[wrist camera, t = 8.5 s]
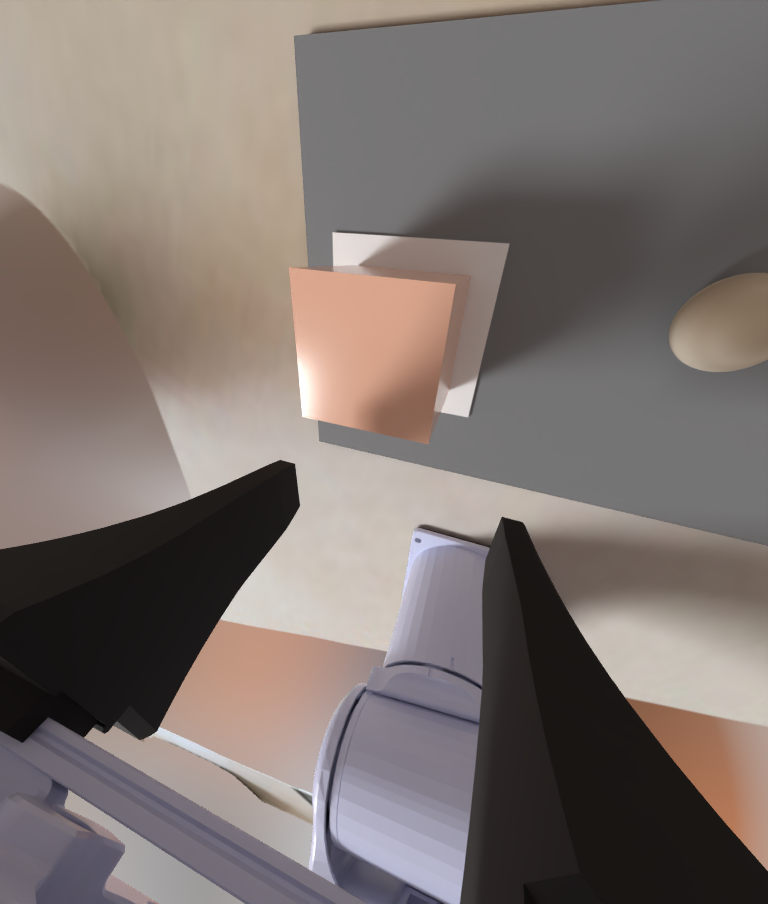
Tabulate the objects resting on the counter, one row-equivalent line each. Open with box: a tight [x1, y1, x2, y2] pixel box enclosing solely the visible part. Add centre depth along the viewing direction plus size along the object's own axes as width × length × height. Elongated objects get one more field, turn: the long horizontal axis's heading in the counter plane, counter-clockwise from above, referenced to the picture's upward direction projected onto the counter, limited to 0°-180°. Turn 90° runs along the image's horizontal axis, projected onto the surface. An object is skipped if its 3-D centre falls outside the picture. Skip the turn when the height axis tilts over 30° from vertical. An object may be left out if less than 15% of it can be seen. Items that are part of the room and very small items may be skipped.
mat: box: [294, 0, 768, 546], centre depth 14 cm, size 18×27×1 cm, turn 86°
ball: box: [669, 273, 768, 372], centre depth 11 cm, size 3×3×3 cm
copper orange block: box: [289, 265, 472, 444], centre depth 13 cm, size 5×5×6 cm
